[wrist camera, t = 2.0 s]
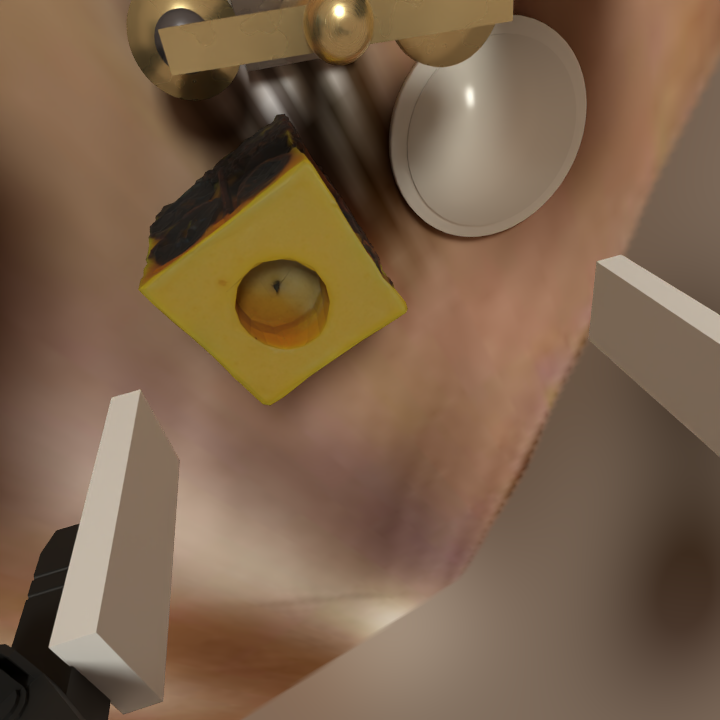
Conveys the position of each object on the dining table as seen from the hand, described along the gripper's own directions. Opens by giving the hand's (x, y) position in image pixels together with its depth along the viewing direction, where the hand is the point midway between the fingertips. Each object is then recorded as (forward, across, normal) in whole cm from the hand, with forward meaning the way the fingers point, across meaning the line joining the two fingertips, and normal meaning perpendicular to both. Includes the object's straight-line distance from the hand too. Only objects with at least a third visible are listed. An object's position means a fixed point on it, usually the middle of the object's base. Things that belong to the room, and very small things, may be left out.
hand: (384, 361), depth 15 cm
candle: (+22, -2, -3) cm, 22 cm away
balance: (+21, +2, +8) cm, 23 cm away
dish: (+21, +13, -1) cm, 25 cm away
